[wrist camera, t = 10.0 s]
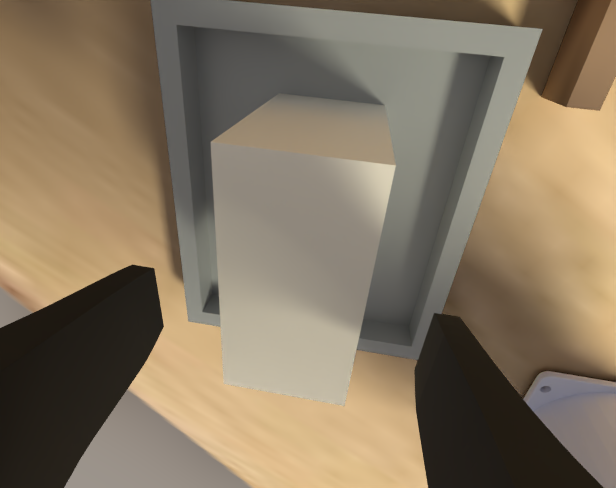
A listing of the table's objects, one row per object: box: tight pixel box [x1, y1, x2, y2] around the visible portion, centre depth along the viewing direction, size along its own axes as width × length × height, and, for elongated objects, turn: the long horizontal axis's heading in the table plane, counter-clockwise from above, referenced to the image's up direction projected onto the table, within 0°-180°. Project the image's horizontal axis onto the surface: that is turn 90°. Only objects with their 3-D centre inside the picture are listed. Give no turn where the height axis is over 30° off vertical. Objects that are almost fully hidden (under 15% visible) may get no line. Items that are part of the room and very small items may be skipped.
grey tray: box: [151, 0, 543, 360], centre depth 16 cm, size 14×12×2 cm
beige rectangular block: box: [211, 93, 396, 406], centre depth 13 cm, size 9×4×7 cm, turn 175°
